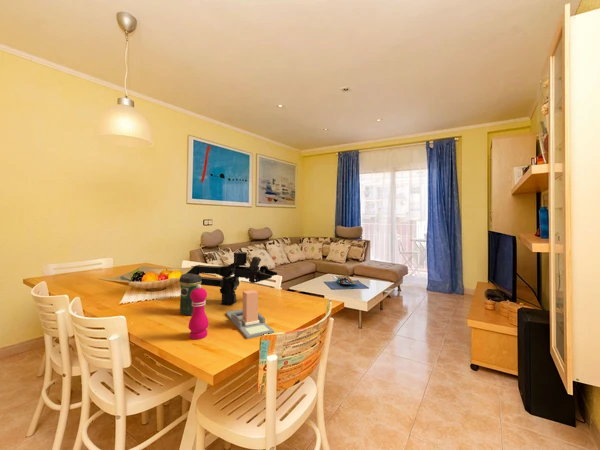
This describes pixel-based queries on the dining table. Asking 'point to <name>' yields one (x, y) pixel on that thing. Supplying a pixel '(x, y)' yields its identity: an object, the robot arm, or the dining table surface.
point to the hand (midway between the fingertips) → (274, 275)
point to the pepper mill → (198, 314)
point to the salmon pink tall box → (250, 307)
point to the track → (249, 330)
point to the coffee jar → (188, 292)
